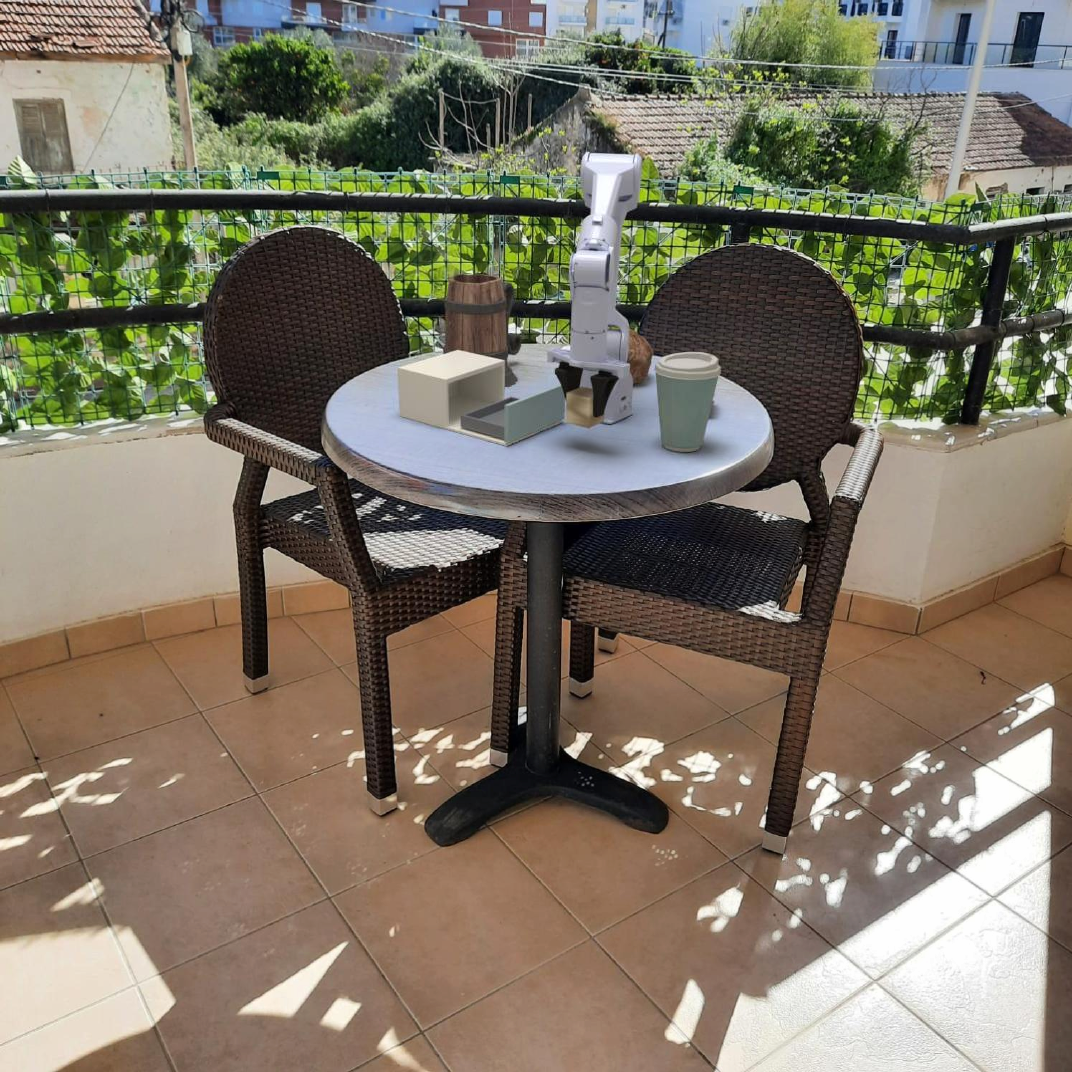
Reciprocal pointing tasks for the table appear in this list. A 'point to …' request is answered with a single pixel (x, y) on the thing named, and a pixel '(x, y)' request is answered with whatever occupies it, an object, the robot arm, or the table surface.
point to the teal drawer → (517, 414)
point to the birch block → (581, 408)
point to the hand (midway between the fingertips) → (585, 412)
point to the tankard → (481, 318)
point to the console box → (452, 390)
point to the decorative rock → (639, 356)
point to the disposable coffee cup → (685, 398)
